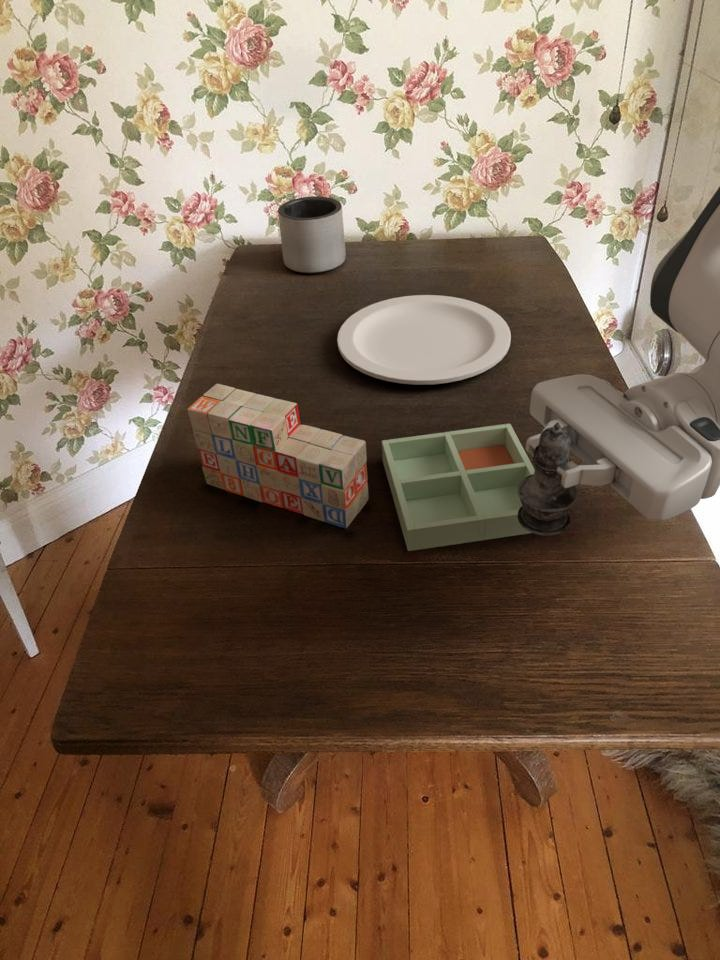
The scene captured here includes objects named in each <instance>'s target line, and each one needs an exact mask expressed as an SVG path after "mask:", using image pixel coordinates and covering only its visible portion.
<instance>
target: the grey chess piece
mask: <svg viewBox="0 0 720 960" xmlns="http://www.w3.org/2000/svg"><path fill="white" fill-rule="evenodd" d="M543 430H544V429H543ZM543 430H542V431H543ZM542 431H541V432H542ZM541 432H540V434H541V435H540V440H539V448H538V453H537V454H536V455H535V456H534V457H532V465H533V467H534V470H535V472H534V474H532V475H529V476H527V477H525V478H524V479H523V480H522V481H521V482H520V483H519V485H518V491H517V492H518V495H519V498H520V500H521V503H522V506H521V507H520V509H519V511H518V516H517V518H518V521H519V523H520V524H521V526H522V527H523V528H525V529H526V530H527V531H529V532H531V533H530V534H533V535H537V536H543V537H550V536H551V537H552V536H557V535H560V534H562V533H563V532H566V530H567V529H568V528H569V527H570V524H571V516H570V514H569V512H570V510H571V509H572V508H573V506H574V505H575V504H576V503H577V501H578V498H579V492H578V490H577V487H576V485H574V486H572V487H569V488H565V487H563V486H562V485H561V484H560V483H559V482H558V481H557V480H556V479H555V475H557V474H556V469H557V468H558V466H560V465H562V464H566V463H568V462H570V461H572V460H571V458H570V457H569V455H570V451H571V450H570V445H571V436H570V434H569V433H568V432H567V431H566V430H565V429H563V428H561V425H560V424H559V423H558V422H557V423H556V424H555V425H554V427H549V428H547V429H545V430H544V431H543V432H542V433H541Z"/></svg>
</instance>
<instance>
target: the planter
mask: <svg viewBox="0 0 720 960" xmlns="http://www.w3.org/2000/svg"><path fill="white" fill-rule="evenodd" d="M277 215H278V223H279V233H280V242H281V252H282V259H283V263H284V265H285V267H286V268H288V269H290V270H291V271H293V272H296V273H300V274H306V275H307V274H308V275H315V274H322V273H327V272H330V271H333V270H334V269H336V268H338V267H340V266H341V265H343V264H344V262H345V260H346V259H347V258H346V256H347V253H346V251H347V250H346V241H345V240H346V239H345V227H344V218H343V217H344V216H343V205H342V203H341V202H340V201H339V200H338V199H335V198H332V197H330V196H329V197H328V196H319V195H317V196H316V195H314V196H313V195H311V196H303V197H298V198H294V199H290V200H288V201H286V202H283V203H282V204H280V205H279V207H278V209H277Z"/></svg>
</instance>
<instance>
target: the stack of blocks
mask: <svg viewBox="0 0 720 960" xmlns="http://www.w3.org/2000/svg"><path fill="white" fill-rule="evenodd" d="M299 411H300V410H299V405H298V403H296V402H294V401H293V402H292V401H289V400H286V399H285V400H284V399H280V398H275V397H273V396H268V395H264V394H261V393H260V394H259V393H255V392H251V391H247V390H243V389H239V388H235V387H232V386H229V385H224V384H222V383H216V384H214V385H213V386H212V387H211V388H210V389H208V390H207V391H206V392H205V393H203V394H202V396H200V397H198V399H196V400H195V401H194V402H193V403H192V404H191V405H190V406H189V407H188V408H187V414H188V416H189V421H190V424H191V429H192V434H193V437H194V442H195V446H196V448H197V451H198V455H199V459H200V463H201V465H202V466H201V468H202V472H203V475H204V479H205V482H206V484H207V485H209V486H212V487H214V488H217V489H221V490H224V491H226V492H228V493H232V494H235V495H239V496H241V497H245V498H247V499H249V500H253V501H256V502H259V503H265V504H268V505H271V506H273V507H278V508H280V509H285V510H288V511H290V512H294V513H297V514H300V515H304V517H308V518H311V519H314V520H316V521H321V522H324V523H326V524H330V525H333V526H336V527H338V528H343V529H348V527H349V526H350V525H351V524H352V522H353V521H354V520H355V518H356V517H357V516H358V514H359V513H360V512H361V511H362V510H363V508H364V506H365V505H366V504H367V502H368V501H369V498H370V497H369V496H370V495H369V484H368V479H369V477H368V467H367V462H368V461H367V460H368V459H367V458H368V457H367V456H368V455H367V443H366V441H365V440H364V439H359V438H356V437H351V436H347V435H343V434H341V433H338V432H334V431H331V430H327V429H321V428H319V427H315V426H311V425H306V424H301V419H300V412H299Z"/></svg>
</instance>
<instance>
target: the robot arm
mask: <svg viewBox="0 0 720 960" xmlns="http://www.w3.org/2000/svg"><path fill="white" fill-rule="evenodd" d="M649 297H650V298H649V301H650V302H649V304H650V309H651V310H652V312H653V314H654V315H655V316H656V317H658V318H659V319H660V320H661V321H663V322H664V323H665V324H666V325H667V326H669V328H671V329H672V330H673V331H675V332H676V333H678V334H680V336H681V337H682V338H683V339H684V340H686V342H687V343H688V344H689V345H691V347H692V348H693V349H694V350H695V351H696V352H697V353H698V354H699V355H700V356H701V357H702V358H703V359H704V362H703V363H702V364H700V365H698V366H695V368H693V369H692V370H691V371H689V372H686V371H685V372H684V371H683V372H674V373H670V374H667V375H664V376H661V377H658V378H655V379H652V380H649V381H645V382H641V383H639V384H636V385H634V386H631V387H629V388H628V389H627V390H626V391H625V392H624V393H623V392H622V391H620V390H619V389H617V388H615V387H613V385H612V384H611V383H610V382H608V381H607V380H605V379H602V378H599V377H597V376H595V375H592V374H585V373H582V374H573V375H565V376H561V377H557V378H552V379H547V380H543V381H540V382H537V383H536V384H535V385H534V387H533V389H532V391H531V396H530V403H529V414H530V415H531V417H533V419H535V420H536V421H537V422H538V423H539V424H541V425H542V426H543V427H544V428H543V429H542V431H541V432H540V433H538V434H535V435H531V436H529V437H528V438H527V440H525V441H526V442H525V452H526V453H528V454H529V455H531V457H532V458H533V457H534V456H535V455H536V454H537V453H538V448H539V440H540V435H541V433H542V432H543V431H544V430H545V429H547V428H549V427H554V425H555V424H556V423H557V422H558V423H559V424H560V425H561V428H563V429H565V430H566V431H567V432H568V433H569V434H570V436H571V445H570V451H571V452H572V453H573V454H574V455H575V456H576V457H577V458H578V459H579V460H580V461H582V462H583V463H584V464H577V463H576V462H574V461H573V460H571V461H570V462H568V463H566V464H562V465H560V466H558V468H557V469H556V474H557V475H555V479H556V480H557V481H558V482H559V483H560V484H561V485H562V486H563V487H565V488H569V487H572V486H577V485H581V486H593V487H603V486H607V485H609V487H611V489H613V490H614V491H615V492H616V493H618V495H620V496H621V497H622V498H623V499H624V500H625V501H627V503H629V504H630V505H631V506H632V507H633V508H634V509H635V510H637V512H638V513H640V514H641V515H642V516H643V517H644V518H645V519H648V520H653V521H659V522H661V521H666V520H669V519H672V518H674V517H676V516H679V515H681V514H684V513H685V512H687V511H689V510H691V509H693V508H694V507H695V506H696V507H697V505H698V504H699V503H700V501H701V500H706V499H709V498H713V497H714V496H715V495H716V493H717V491H718V490H719V488H720V186H719V187H718V188H717V189H716V190H715V192H714V194H713V195H712V197H711V198H710V199H709V201H708V202H707V204H706V205H705V207H703V209H702V211H701V212H700V214H699V215H698V217H697V218H696V219H695V221H694V222H693V224H692V225H691V226H690V228H689V229H688V231H686V233H684V235H683V236H682V237H681V238H680V239H679V240H678V241H677V242H676V243H675V244H674V245H673V246H672V247H671V248H670V249H669V251H667V252H666V254H665V255H664V256H663V257H662V259H661V260H660V262H659V263H658V264H657V266H656V268H655V270H654V272H653V275H652V279H651V283H650V294H649Z"/></svg>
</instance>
